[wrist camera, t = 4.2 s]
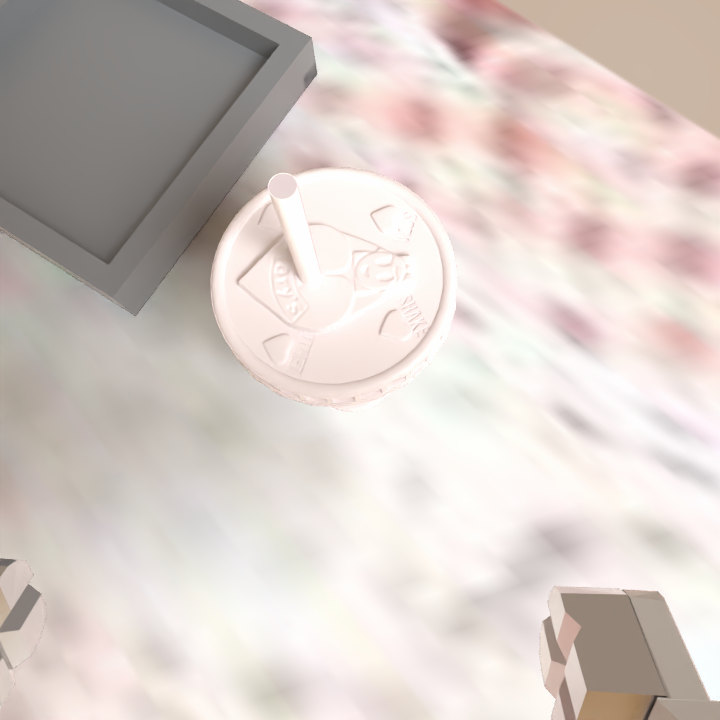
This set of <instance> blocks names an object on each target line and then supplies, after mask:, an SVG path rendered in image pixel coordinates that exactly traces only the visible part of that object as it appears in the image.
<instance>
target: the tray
mask: <svg viewBox="0 0 720 720" xmlns="http://www.w3.org/2000/svg"><path fill="white" fill-rule="evenodd" d="M316 75H317V69H316V63H315V56H314V49H313V43H312V37H310V36H308V35H306V34H304V33H302V32H300V31H298V30H296V29H294V28H292V27H290V26H288V25H286V24H284V23H282V22H280V21H278V20H276V19H274V18H272V17H270V16H268V15H266V14H264V13H262V12H260V11H259V10H257V9H255V8H253V7H251V6H249V5H247V4H245V3H243V2H241V1H239V0H0V230H1V231H3V232H4V233H6V234H7V235H9V236H11V237H12V238H14V239H15V240H17V241H18V242H20V243H22V244H23V245H25V246H26V247H28V248H29V249H31V250H33V251H34V252H36V253H37V254H39V255H40V256H42V257H44V258H45V259H47V260H48V261H50V262H51V263H53V264H54V265H56V266H58V267H59V268H61V269H62V270H64V271H65V272H67V273H69V274H70V275H72V276H73V277H75V278H76V279H78V280H80V281H81V282H83V283H84V284H86V285H87V286H89V287H91V288H92V289H94V290H95V291H97V292H98V293H100V294H102V295H103V296H105V297H106V298H108V299H109V300H111V301H112V302H114V303H116V304H117V305H119V306H120V307H122V308H123V309H125V310H127V311H128V312H130V313H131V314H133V315H134V316H136V315H137V313H138V312H139V311H140V309H141V308H142V307H143V305H144V304H145V303H146V301H147V300H148V299H149V297H150V296H151V295H152V293H153V292H154V291H155V289H156V288H157V287H158V285H159V284H160V283H161V281H162V280H163V279H164V277H165V276H166V275H167V273H168V272H169V271H170V269H171V268H172V267H173V265H174V264H175V263H176V261H177V260H178V259H179V257H180V256H181V255H182V253H183V252H184V251H185V249H186V248H187V247H188V245H189V244H190V243H191V241H192V240H193V239H194V237H195V236H196V235H197V233H198V232H199V231H200V229H201V228H202V227H203V225H204V224H205V223H206V221H207V220H208V219H209V217H210V216H211V215H212V213H213V212H214V211H215V209H216V208H217V207H218V205H219V204H220V203H221V201H222V200H223V199H224V197H225V196H226V195H227V193H228V192H229V191H230V189H231V188H232V187H233V185H234V184H235V183H236V181H237V180H238V179H239V177H240V176H241V175H242V173H243V172H244V171H245V169H246V168H247V167H248V165H249V164H250V163H251V161H252V160H253V159H254V157H255V156H256V155H257V153H258V152H259V151H260V149H261V148H262V147H263V145H264V144H265V143H266V141H267V140H268V139H269V137H270V136H271V135H272V133H273V132H274V131H275V129H276V128H277V127H278V125H279V124H280V123H281V121H282V120H283V119H284V117H285V116H286V115H287V113H288V112H289V111H290V109H291V108H292V107H293V105H294V104H295V103H296V101H297V100H298V99H299V97H300V96H301V95H302V93H303V92H304V91H305V89H306V88H307V87H308V85H309V84H310V83H311V81H312V80H313V79H314V77H315V76H316Z"/></svg>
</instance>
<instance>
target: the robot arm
mask: <svg viewBox="0 0 720 720" xmlns="http://www.w3.org/2000/svg"><path fill="white" fill-rule="evenodd" d="M32 577H33V572H32V570H31V568H30V566H29V564H28V562H27V561H25V560H13V559H0V709H1V708H2V706H3V704H4V702H5V701H6V699H7V697H8V695H9V694H10V692H11V690H12V688H13V687H14V685H15V678H14V670H13V669H14V668H16V667H17V666H18V665H20V664H21V663H22V662H24V661H25V660H26V659H28V658H29V657H30V656H31V655H32V653H33V651H34V650H35V648H36V646H37V644H38V642H39V640H40V639H41V635H42V632H43V628H44V624H45V620H46V608H45V602H44V600H43V597H42V594H41V593H39V592H38V591H37V590H35V589H34V588H33V587H32V586H30V585H29V584H28V583H29V582H30V580H31V578H32ZM548 607H549V611H550V615H551V616H549V617H548V618H547V619H545V620H544V621H543V622H542V627H541V632H540V648H539V655H540V664H541V671H542V676H543V681H544V686H545V688H546V689H547V690H548V691H549V692H550V693H551V694H552V695H553V697H554V698H555V699H556V701H555V705H554V708H553V712H552V715H551V720H720V701H712V700H710V698H709V696H708V694H707V692H706V689H705V687H704V685H703V683H702V680H701V678H700V676H699V674H698V672H697V669H696V667H695V665H694V663H693V661H692V658H691V656H690V654H689V652H688V650H687V647H686V645H685V643H684V641H683V639H682V636H681V634H680V632H679V630H678V627H677V625H676V623H675V621H674V619H673V616H672V614H671V612H670V610H669V608H668V605H667V603H666V601H665V599H664V597H663V596H662V595H661V594H660V593H659V592H658V591H641V590H620V589H615V588H588V587H562V586H554V587H553V588H552V590H551V591H550V594H549V598H548Z"/></svg>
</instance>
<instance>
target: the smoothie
mask: <svg viewBox="0 0 720 720" xmlns="http://www.w3.org/2000/svg"><path fill="white" fill-rule="evenodd" d="M210 288H211V300H212V306H213V311H214V315H215V318H216V321H217V324H218V326H219V329H220V331H221V333H222V335H223V337H224V339H225V341H226V342H227V344H228V345H229V347H230V348H231V350H232V352H233V354H234V356H235V357H236V358H237V359H238V360H239V361H240V363H241V364H242V365H243V366H244V367H245V368H246V370H247V371H248V372H249V373H250V374H251V375H252V376H253V378H255V379H256V380H258V381H259V382H261V383H262V384H264V385H265V386H267V387H268V388H270V389H271V390H273V391H274V392H276V393H277V394H279V395H281V396H284V397H287V398H290V399H293V400H296V401H299V402H302V403H305V404H309V405H315V406H331V407H333V408H336V409H339V410H342V411H351V412H352V411H362V410H365V409H368V408H371V407H373V406H375V405H377V404H378V403H379V402H381V401H382V400H383V399H384V398H385V397H386V396H387V395H388V394H389V393H391V392H393V391H395V390H397V389H399V388H401V387H403V386H405V385H406V384H408V383H409V382H410V381H411V380H412V379H413V378H414V377H415V376H417V375H418V374H419V373H420V372H421V371H422V370H423V369H424V368H426V367H427V366H428V365H429V364H430V362H431V361H432V359H433V358H434V356H435V355H436V353H437V352H438V350H439V349H440V347H441V345H442V344H443V342H444V341H445V339H446V338H447V335H448V331H449V328H450V325H451V322H452V319H453V315H454V312H455V309H456V293H457V265H456V260H455V255H454V251H453V248H452V244H451V242H450V239H449V237H448V234H447V232H446V230H445V229H444V227H443V225H442V223H441V222H440V220H439V219H438V217H437V216H436V214H435V213H434V212H433V211H432V209H431V208H430V207H429V206H428V205H427V204H426V203H425V202H424V201H423V200H422V199H421V198H420V197H419V196H418V195H416V194H415V193H414V192H413V191H411V190H410V189H408V188H407V187H405V186H404V185H402V184H400V183H398V182H397V181H395V180H393V179H391V178H388V177H386V176H384V175H381V174H378V173H375V172H372V171H367V170H363V169H357V168H350V167H325V168H317V169H312V170H307V171H303V172H299V173H296V174H293V175H291V174H289V173H278V174H276V175H274V176H273V177H272V178H271V179H270V181H269V183H268V187H267V188H265V189H263V190H262V191H261V192H259V193H258V194H257V195H255V196H254V197H253V198H252V199H251V200H249V201H248V202H247V203H246V204H245V205H244V206H243V207H242V208H241V210H240V211H239V212H238V213H237V214H236V215H235V217H234V218H233V219H232V221H231V222H230V224H229V225H228V227H227V229H226V230H225V232H224V234H223V236H222V238H221V240H220V242H219V245H218V247H217V250H216V253H215V257H214V261H213V265H212V271H211V285H210Z"/></svg>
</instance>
